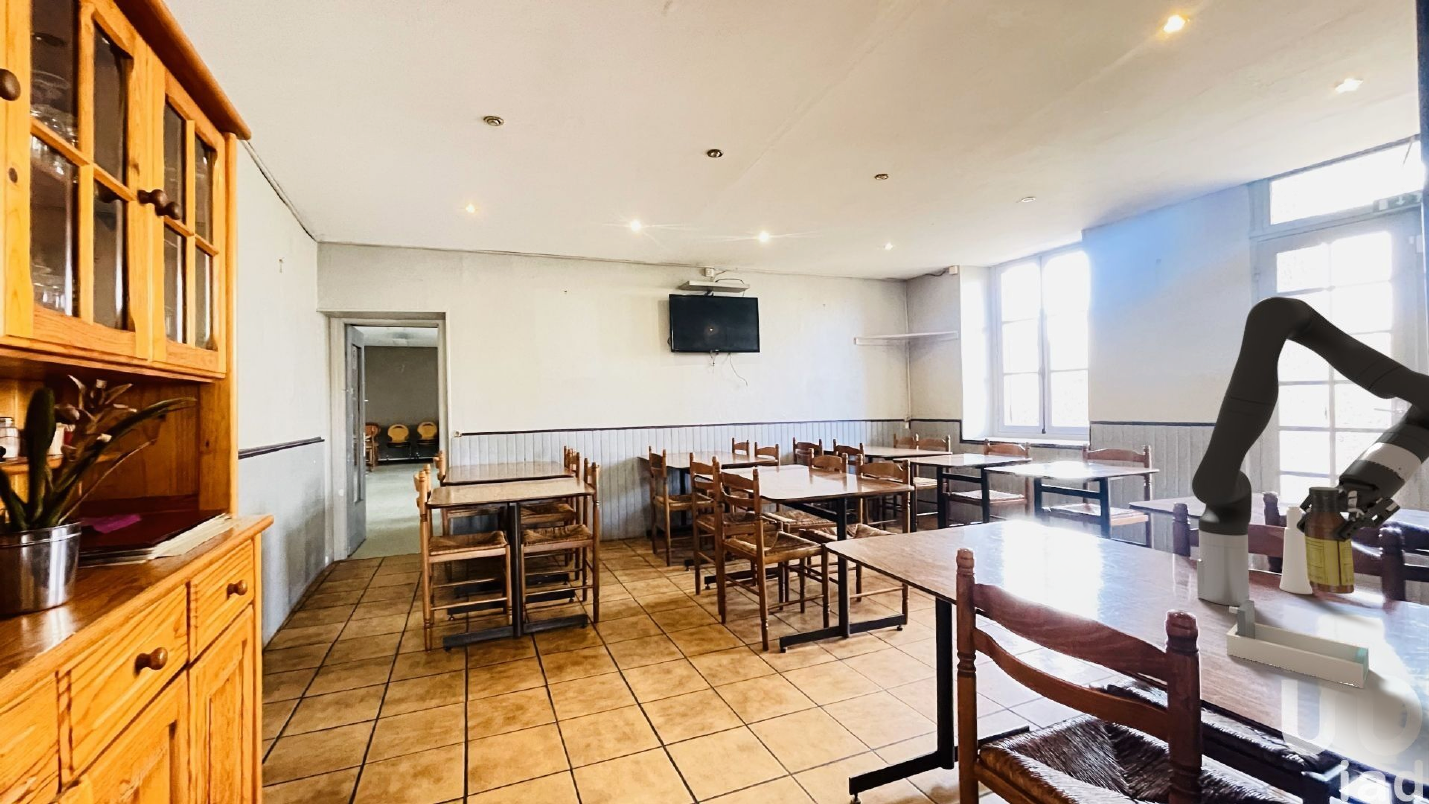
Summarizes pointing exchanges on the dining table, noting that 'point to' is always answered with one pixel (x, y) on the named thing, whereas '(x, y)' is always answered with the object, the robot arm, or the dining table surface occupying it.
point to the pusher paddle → (1245, 619)
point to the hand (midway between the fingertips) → (1319, 534)
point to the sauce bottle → (1327, 544)
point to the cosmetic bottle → (1294, 556)
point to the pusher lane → (1302, 653)
